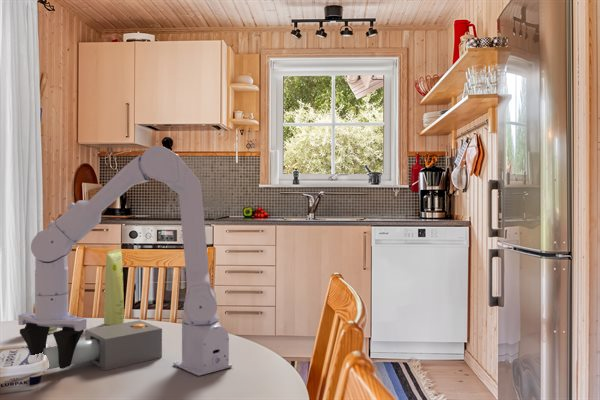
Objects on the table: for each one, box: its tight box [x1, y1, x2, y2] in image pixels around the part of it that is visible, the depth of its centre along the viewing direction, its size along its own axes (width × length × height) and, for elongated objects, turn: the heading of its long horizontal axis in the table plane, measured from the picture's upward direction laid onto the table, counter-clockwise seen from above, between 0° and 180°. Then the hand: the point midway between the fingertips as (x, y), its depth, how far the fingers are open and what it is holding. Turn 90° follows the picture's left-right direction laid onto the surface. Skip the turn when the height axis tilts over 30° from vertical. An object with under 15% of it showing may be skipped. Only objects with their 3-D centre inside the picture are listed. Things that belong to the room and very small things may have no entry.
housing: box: [84, 319, 163, 371], centre depth 108 cm, size 12×10×6 cm
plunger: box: [133, 324, 145, 329], centre depth 111 cm, size 2×2×3 cm
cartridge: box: [43, 339, 100, 370], centre depth 102 cm, size 13×4×4 cm, turn 133°
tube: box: [103, 248, 125, 326], centre depth 138 cm, size 6×5×20 cm
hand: (51, 365), depth 99 cm, fingers open, 6 cm apart
